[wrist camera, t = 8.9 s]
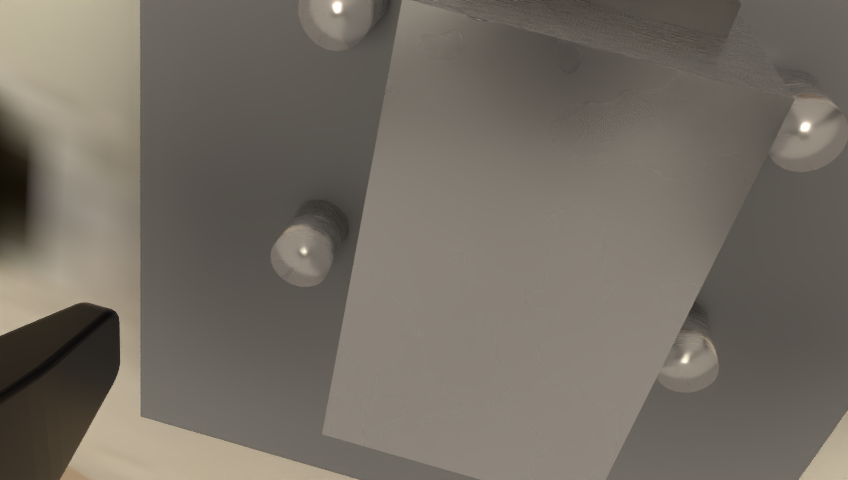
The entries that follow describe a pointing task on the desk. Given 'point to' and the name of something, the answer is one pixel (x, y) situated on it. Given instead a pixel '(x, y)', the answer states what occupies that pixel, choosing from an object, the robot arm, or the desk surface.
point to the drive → (542, 224)
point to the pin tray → (340, 224)
